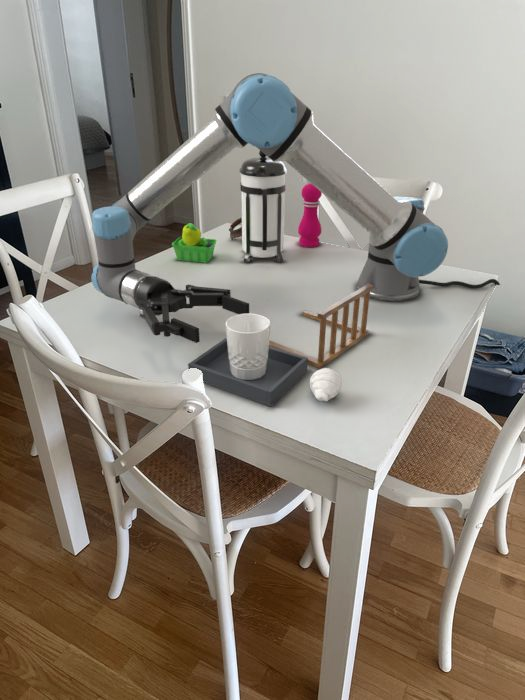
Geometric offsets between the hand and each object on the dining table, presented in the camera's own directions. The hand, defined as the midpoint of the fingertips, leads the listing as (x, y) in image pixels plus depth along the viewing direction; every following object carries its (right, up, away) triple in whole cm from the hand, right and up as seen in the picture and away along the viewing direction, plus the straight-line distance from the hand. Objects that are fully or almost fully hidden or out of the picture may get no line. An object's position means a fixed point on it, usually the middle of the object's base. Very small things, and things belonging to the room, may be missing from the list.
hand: (224, 322), depth 99 cm
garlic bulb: (+18, -14, -6) cm, 24 cm away
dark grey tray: (+5, -10, +1) cm, 11 cm away
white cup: (+4, -9, +1) cm, 10 cm away
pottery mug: (+2, +30, +73) cm, 79 cm away
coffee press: (+8, +22, +57) cm, 62 cm away
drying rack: (+17, -2, +14) cm, 22 cm away
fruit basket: (-13, +21, +56) cm, 61 cm away
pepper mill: (+22, +28, +69) cm, 77 cm away
